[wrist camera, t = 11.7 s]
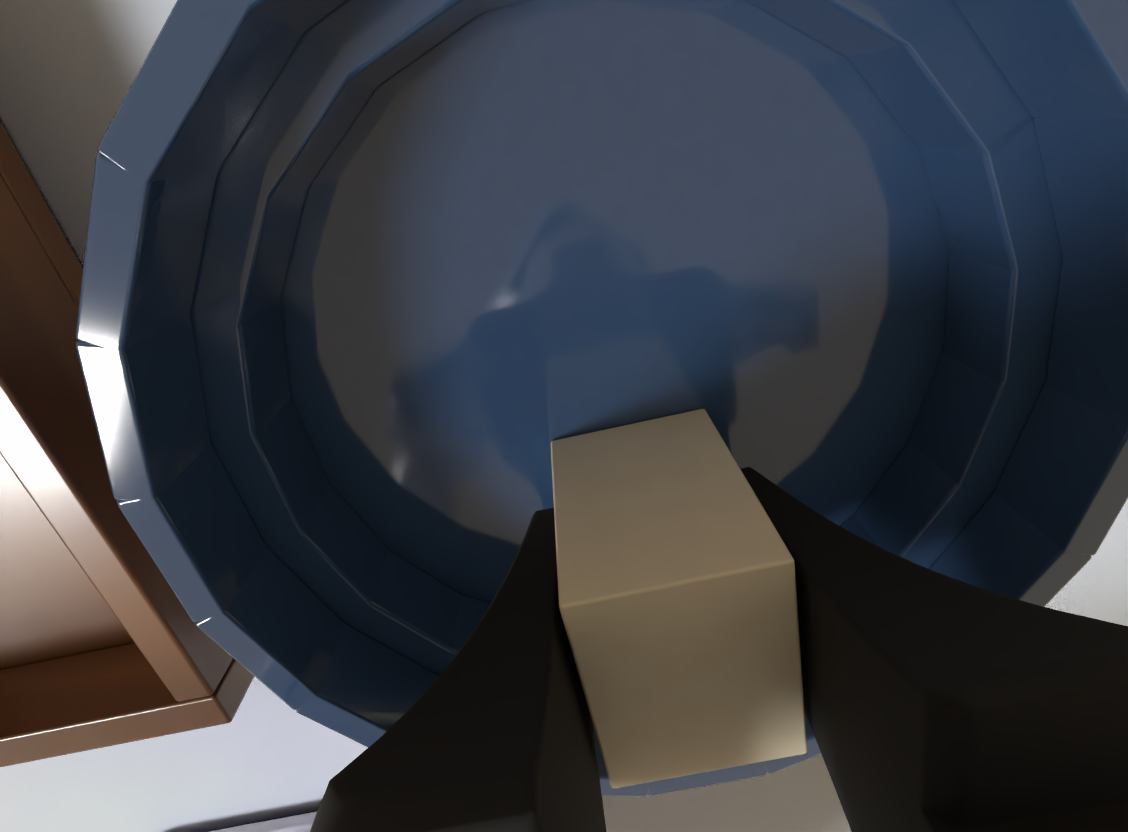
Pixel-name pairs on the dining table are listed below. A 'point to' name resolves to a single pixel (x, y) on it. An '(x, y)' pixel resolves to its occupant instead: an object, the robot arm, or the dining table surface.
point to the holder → (76, 534)
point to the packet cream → (675, 601)
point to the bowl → (597, 296)
